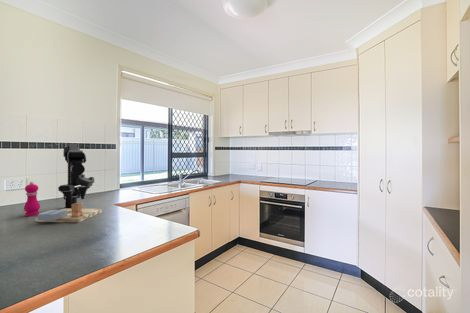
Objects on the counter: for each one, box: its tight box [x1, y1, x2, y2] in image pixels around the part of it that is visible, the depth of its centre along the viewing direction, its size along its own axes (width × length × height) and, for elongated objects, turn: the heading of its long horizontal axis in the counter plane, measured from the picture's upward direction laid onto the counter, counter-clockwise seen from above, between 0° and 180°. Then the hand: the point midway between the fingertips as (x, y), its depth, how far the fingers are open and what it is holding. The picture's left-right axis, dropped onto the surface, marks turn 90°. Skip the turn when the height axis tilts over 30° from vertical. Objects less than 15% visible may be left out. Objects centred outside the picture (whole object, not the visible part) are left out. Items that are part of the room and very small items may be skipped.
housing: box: [36, 209, 67, 220], centre depth 124 cm, size 9×9×3 cm
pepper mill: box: [23, 181, 41, 217], centre depth 135 cm, size 7×7×20 cm
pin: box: [71, 202, 83, 217], centre depth 127 cm, size 4×4×9 cm
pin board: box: [34, 207, 103, 223], centre depth 133 cm, size 20×24×2 cm
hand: (76, 201), depth 127 cm, fingers open, 9 cm apart
